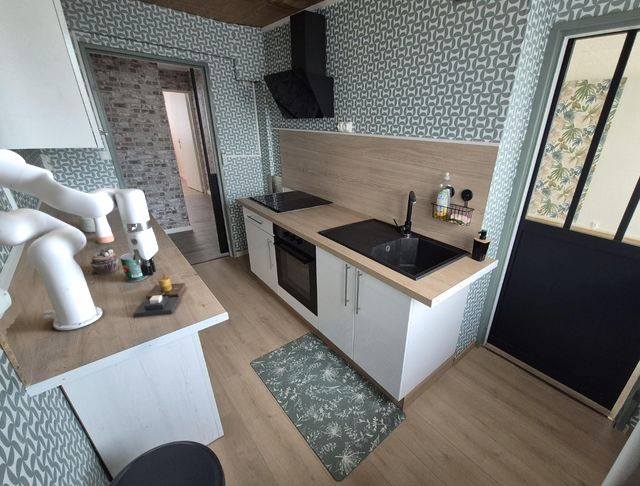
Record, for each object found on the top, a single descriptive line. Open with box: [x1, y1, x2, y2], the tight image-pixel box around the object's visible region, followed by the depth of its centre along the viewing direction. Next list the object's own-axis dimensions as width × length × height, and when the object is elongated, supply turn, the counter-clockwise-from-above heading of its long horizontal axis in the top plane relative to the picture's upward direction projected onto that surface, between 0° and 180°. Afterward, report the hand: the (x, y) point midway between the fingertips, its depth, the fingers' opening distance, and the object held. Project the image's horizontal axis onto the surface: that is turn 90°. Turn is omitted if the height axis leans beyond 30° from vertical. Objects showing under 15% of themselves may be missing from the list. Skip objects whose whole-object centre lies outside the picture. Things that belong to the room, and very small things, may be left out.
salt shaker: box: [93, 215, 115, 244], centre depth 163 cm, size 7×7×19 cm
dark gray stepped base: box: [133, 296, 181, 318], centre depth 110 cm, size 12×9×4 cm
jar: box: [77, 215, 109, 233], centre depth 179 cm, size 13×13×18 cm
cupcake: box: [90, 248, 119, 275], centre depth 134 cm, size 10×10×10 cm
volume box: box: [145, 282, 187, 300], centre depth 120 cm, size 11×9×3 cm
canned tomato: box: [119, 252, 148, 283], centre depth 129 cm, size 8×8×11 cm
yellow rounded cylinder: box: [157, 275, 172, 292], centre depth 118 cm, size 4×4×5 cm
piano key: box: [149, 295, 162, 304], centre depth 110 cm, size 3×3×2 cm
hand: (149, 273), depth 106 cm, fingers closed
